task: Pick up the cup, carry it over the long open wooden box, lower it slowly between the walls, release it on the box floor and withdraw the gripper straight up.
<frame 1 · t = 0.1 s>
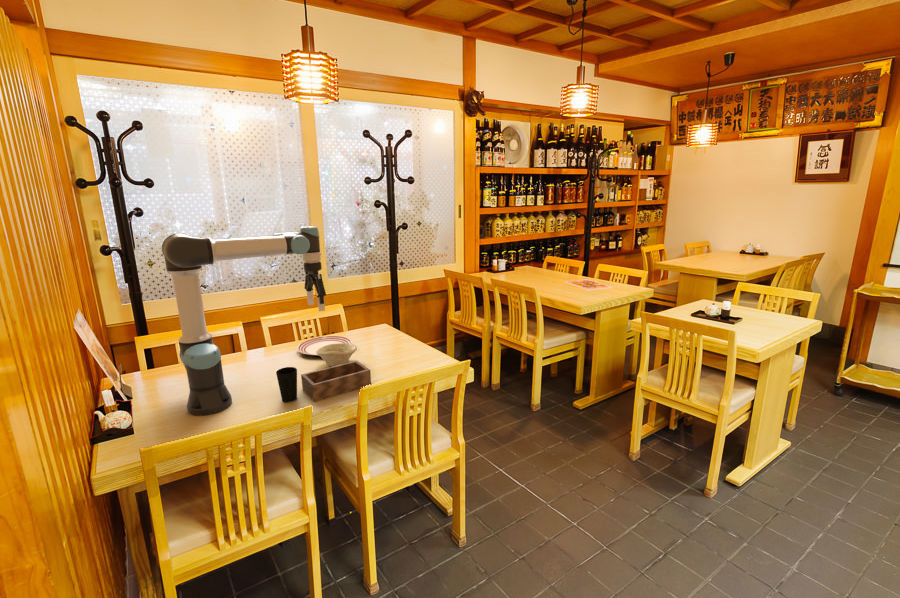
hand: (316, 307, 203), 28 cm above the table, fingers open, 13 cm apart
open wooden box: (337, 387, 185), on the table
dinner plate: (325, 350, 231), on the table
bowl: (338, 364, 211), on the table
cup: (289, 399, 176), on the table
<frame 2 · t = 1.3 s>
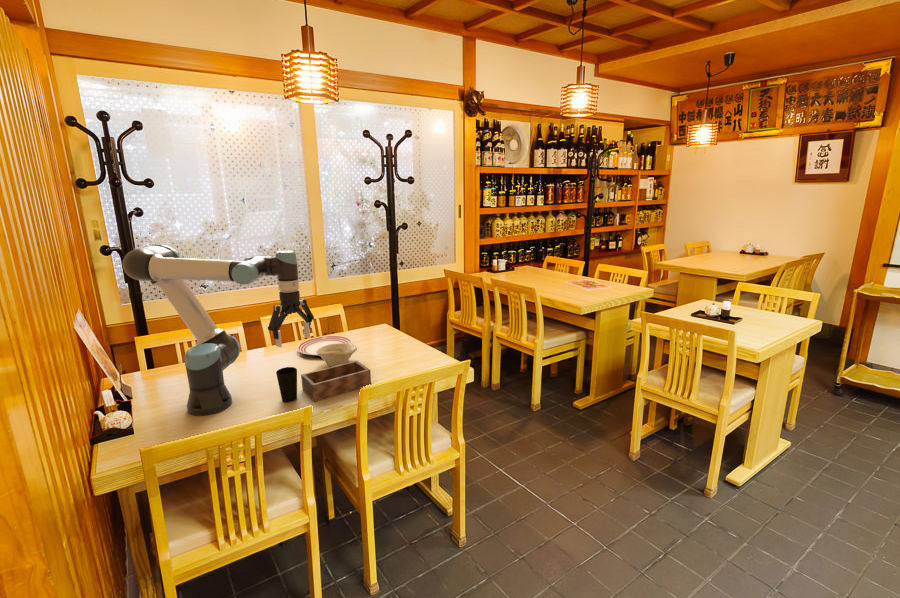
hand: (293, 341, 180), 21 cm above the table, fingers open, 13 cm apart
nothing on the table moved.
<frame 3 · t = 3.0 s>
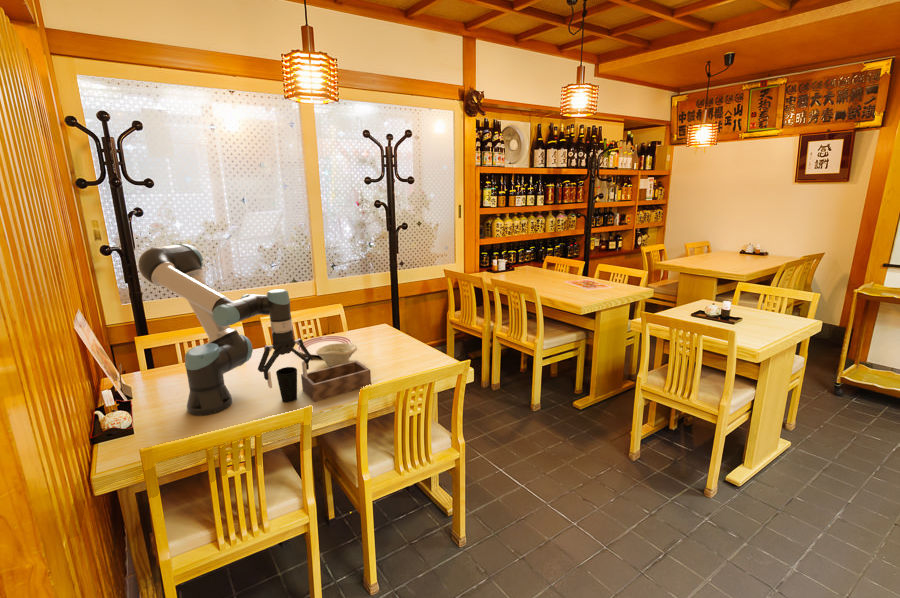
hand: (288, 382, 174), 7 cm above the table, fingers open, 13 cm apart
nothing on the table moved.
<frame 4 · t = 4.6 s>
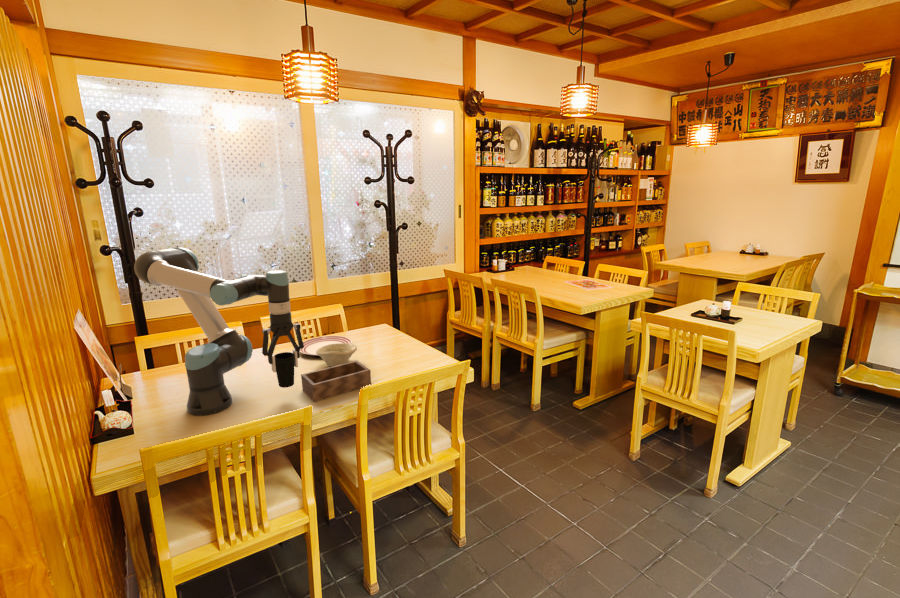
hand: (285, 368, 173), 13 cm above the table, fingers closed on cup, 8 cm apart
cup: (286, 384, 175), point 6 cm above the table, touching gripper
everything else where it was.
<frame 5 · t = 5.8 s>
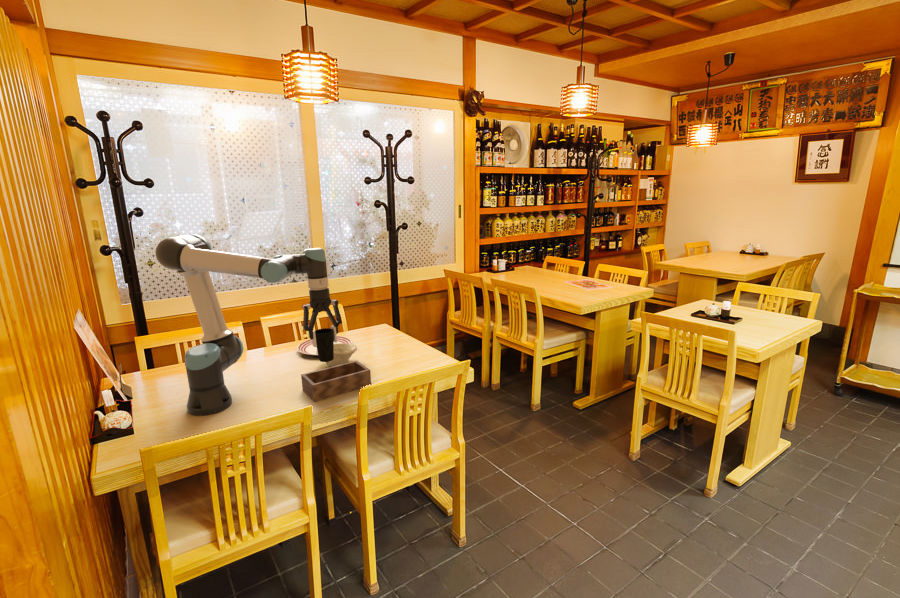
hand: (325, 343, 178), 20 cm above the table, fingers closed on cup, 8 cm apart
cup: (326, 359, 180), point 13 cm above the table, touching gripper
everything else where it was.
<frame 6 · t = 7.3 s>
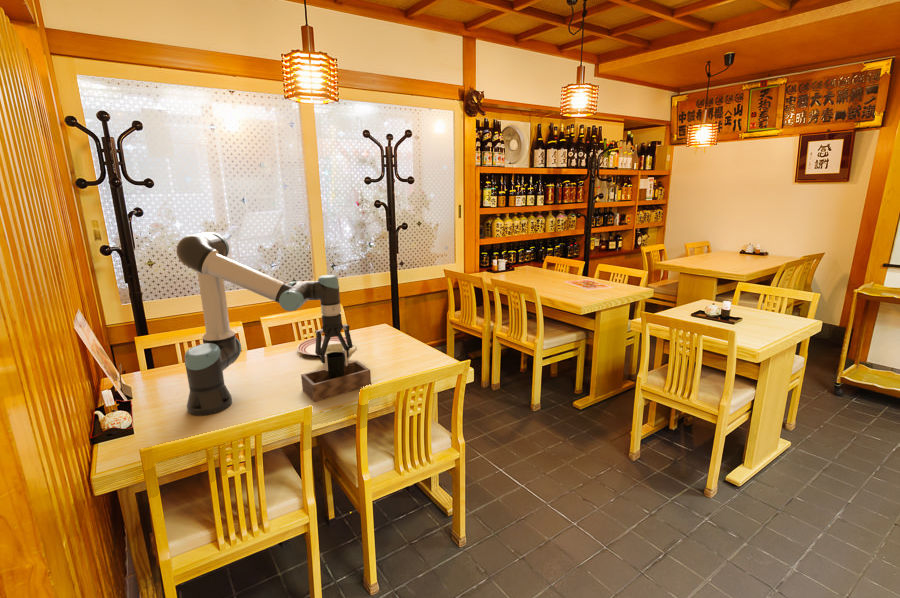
hand: (335, 367, 183), 9 cm above the table, fingers closed on cup, 8 cm apart
cup: (337, 382, 185), point 2 cm above the table, touching gripper
everything else where it was.
when the fingers open (7 cm above the table, at t = 8.0 s): cup stays where it is, resting on open wooden box.
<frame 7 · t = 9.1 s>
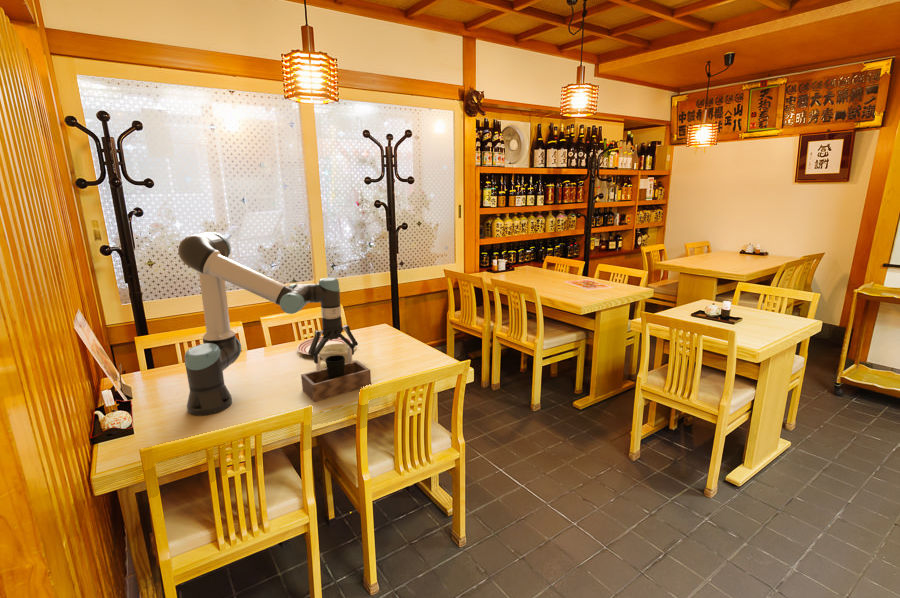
hand: (334, 366, 183), 10 cm above the table, fingers open, 13 cm apart
cup: (337, 386, 185), point 1 cm above the table, touching open wooden box
everything else where it was.
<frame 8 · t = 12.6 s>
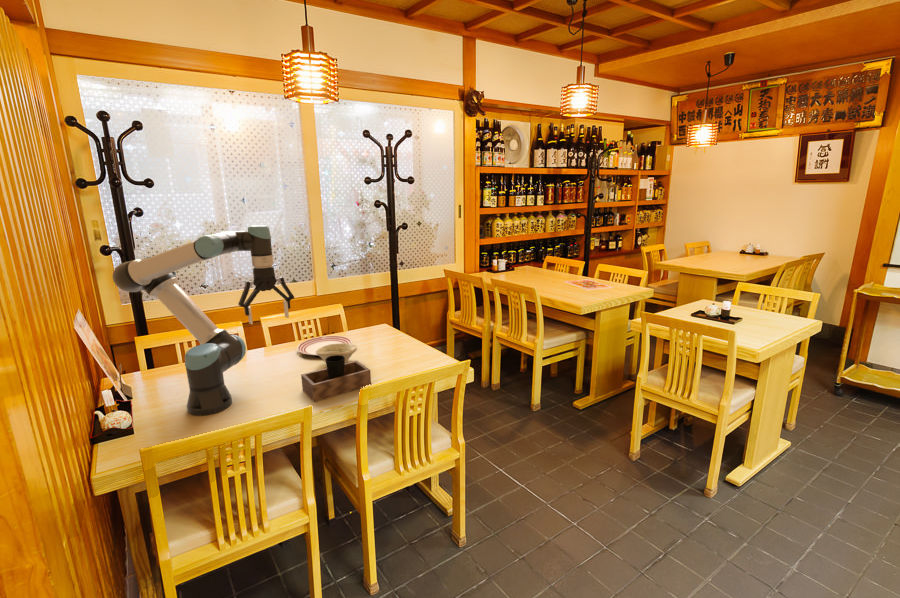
hand: (269, 320, 174), 31 cm above the table, fingers open, 13 cm apart
nothing on the table moved.
at the end: cup inside the target area on the open wooden box (0.1 cm from its centre), point 0.8 cm above the open wooden box's base; cup tilted 0°; the gripper is holding nothing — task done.
